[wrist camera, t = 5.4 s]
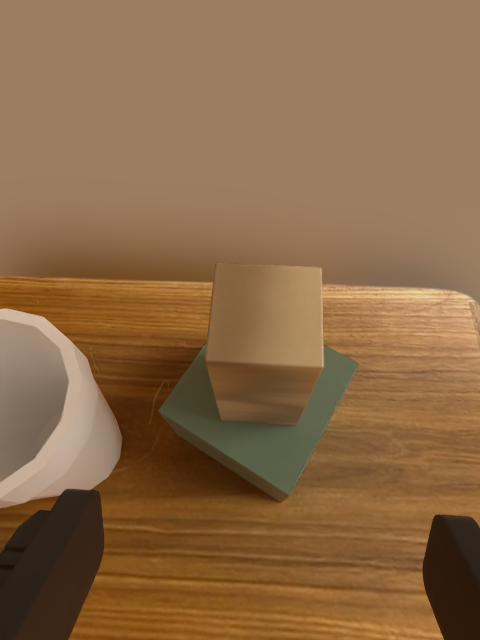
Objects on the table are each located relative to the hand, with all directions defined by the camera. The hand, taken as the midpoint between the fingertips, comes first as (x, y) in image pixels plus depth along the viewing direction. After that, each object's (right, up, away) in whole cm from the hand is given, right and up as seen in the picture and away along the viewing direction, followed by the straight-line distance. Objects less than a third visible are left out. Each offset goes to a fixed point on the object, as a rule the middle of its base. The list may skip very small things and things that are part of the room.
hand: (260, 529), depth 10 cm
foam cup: (-12, -4, +21) cm, 25 cm away
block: (+1, +1, +16) cm, 16 cm away
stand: (+1, -2, +22) cm, 22 cm away
